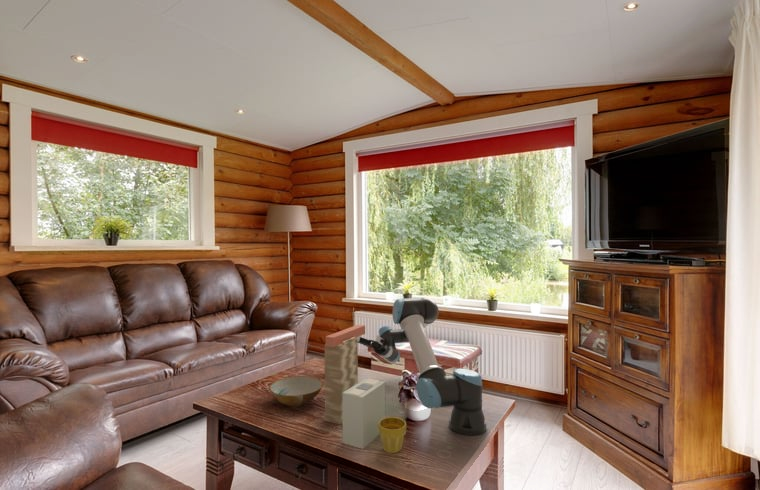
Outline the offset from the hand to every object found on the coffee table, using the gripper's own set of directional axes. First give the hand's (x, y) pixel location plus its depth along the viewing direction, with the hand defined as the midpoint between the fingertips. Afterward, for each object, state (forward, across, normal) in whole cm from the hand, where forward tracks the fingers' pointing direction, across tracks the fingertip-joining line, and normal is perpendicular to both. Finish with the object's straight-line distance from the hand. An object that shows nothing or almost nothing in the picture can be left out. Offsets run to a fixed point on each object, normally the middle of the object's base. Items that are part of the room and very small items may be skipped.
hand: (364, 336), depth 196 cm
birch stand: (+2, 0, -37) cm, 37 cm away
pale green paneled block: (+11, -19, -42) cm, 47 cm away
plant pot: (+14, -33, -44) cm, 57 cm away
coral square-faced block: (+16, 0, -6) cm, 17 cm away
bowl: (0, +27, -36) cm, 45 cm away
